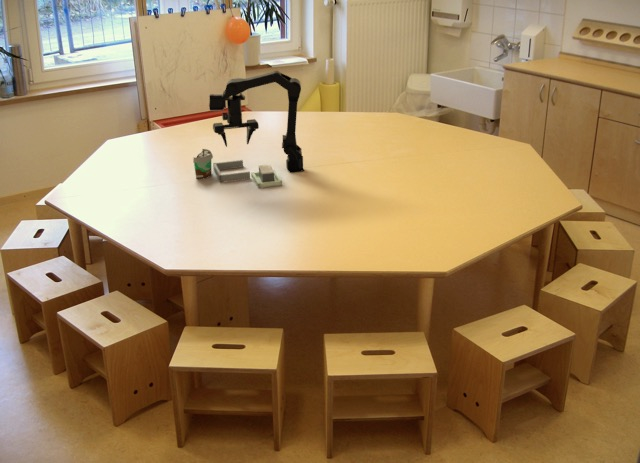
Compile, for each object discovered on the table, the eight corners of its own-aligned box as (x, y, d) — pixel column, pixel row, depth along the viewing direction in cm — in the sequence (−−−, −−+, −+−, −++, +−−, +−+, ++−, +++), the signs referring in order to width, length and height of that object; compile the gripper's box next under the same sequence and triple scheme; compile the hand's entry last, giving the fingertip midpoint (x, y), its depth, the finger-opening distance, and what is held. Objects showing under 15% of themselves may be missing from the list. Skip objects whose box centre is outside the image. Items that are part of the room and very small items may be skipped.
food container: (208, 181, 322) (206, 158, 318) (195, 180, 324) (192, 158, 319) (218, 170, 333) (216, 149, 329) (204, 170, 334) (202, 148, 330)
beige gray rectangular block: (270, 175, 326) (270, 164, 323) (274, 182, 318) (274, 171, 315) (259, 176, 325) (258, 165, 322) (262, 184, 317) (262, 172, 314)
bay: (242, 166, 338) (242, 159, 337) (250, 178, 324) (249, 172, 323) (213, 169, 335) (213, 163, 333) (219, 182, 321) (219, 175, 320)
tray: (274, 174, 329) (274, 169, 328) (282, 185, 316) (282, 181, 316) (251, 176, 326) (251, 172, 325) (258, 188, 314) (258, 184, 313)
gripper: (252, 102, 329) (254, 137, 336) (209, 107, 325) (212, 141, 331) (257, 109, 320) (259, 145, 327) (213, 114, 315) (216, 150, 322)
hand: (236, 145), depth 327 cm, fingers open, 9 cm apart
